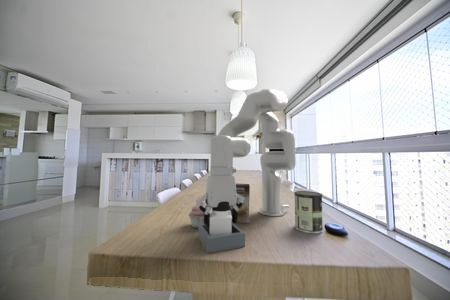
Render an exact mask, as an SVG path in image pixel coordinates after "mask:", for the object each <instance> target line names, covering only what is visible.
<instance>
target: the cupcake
mask: <svg viewBox="0 0 450 300" xmlns="http://www.w3.org/2000/svg"><path fill="white" fill-rule="evenodd" d="M201 204H202V206H203V207H205V206H206V205H207V204H206V203H205V201H203V202H202V203H201ZM209 214H211V212H209ZM188 217H189V219H190V222H191V227H192V228H195V229H198V227H199V225H200V224H204V213H203V212H202V211H201V210H200V209H199V207H198V205H197V204H196V203H195V205H193V206H192V207H191V211H190V212H189V214H188Z"/></svg>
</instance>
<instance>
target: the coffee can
mask: <svg viewBox="0 0 450 300" xmlns="http://www.w3.org/2000/svg"><path fill="white" fill-rule="evenodd" d="M293 194H294V228H295V229H296V231H297V230H298V231H300V232H302V233H306V234H316V235H317V234H321V233H323V232H324V230H323V229H324V228H323V227H324V226H323V225H324V224H323V194H322V193H320V192H318V191H317V192H316V191H306V190H297V191H293Z"/></svg>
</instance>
